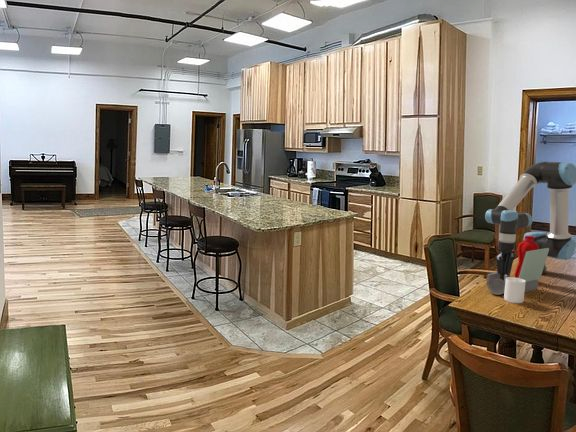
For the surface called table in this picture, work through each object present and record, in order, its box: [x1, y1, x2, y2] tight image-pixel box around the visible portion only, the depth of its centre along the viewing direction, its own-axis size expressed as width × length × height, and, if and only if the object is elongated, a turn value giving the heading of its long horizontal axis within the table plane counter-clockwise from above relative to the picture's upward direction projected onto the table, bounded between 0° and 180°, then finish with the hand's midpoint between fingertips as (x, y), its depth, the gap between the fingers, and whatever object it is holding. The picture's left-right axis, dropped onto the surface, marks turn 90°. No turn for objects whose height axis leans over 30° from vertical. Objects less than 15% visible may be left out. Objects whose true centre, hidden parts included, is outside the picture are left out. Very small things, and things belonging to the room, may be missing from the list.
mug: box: [487, 278, 505, 296], centre depth 220 cm, size 10×8×10 cm
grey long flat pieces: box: [485, 271, 539, 293], centre depth 230 cm, size 18×16×6 cm
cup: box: [503, 276, 526, 304], centre depth 211 cm, size 8×12×10 cm
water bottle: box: [513, 236, 539, 278], centre depth 241 cm, size 9×11×25 cm
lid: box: [519, 248, 549, 282], centre depth 219 cm, size 18×16×1 cm
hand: (502, 286), depth 226 cm, fingers closed
